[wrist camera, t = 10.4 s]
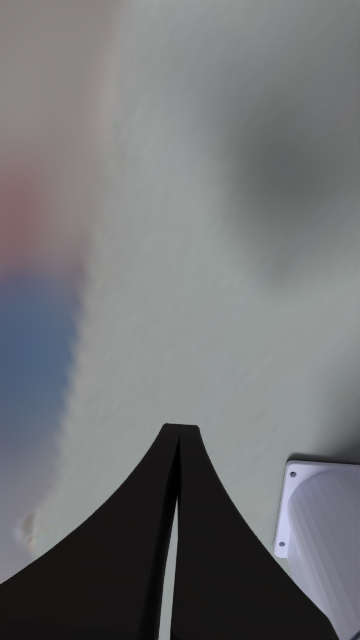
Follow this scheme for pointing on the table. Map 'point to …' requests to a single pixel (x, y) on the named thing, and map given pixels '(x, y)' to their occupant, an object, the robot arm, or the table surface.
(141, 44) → the table surface
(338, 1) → the table surface
